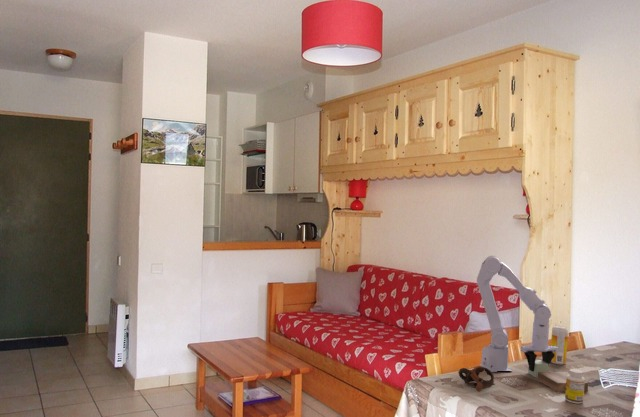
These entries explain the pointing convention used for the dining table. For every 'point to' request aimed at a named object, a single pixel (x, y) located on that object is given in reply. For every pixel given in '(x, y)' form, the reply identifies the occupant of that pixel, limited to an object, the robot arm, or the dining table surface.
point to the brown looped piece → (477, 377)
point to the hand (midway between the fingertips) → (538, 370)
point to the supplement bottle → (575, 386)
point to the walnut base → (556, 380)
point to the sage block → (539, 368)
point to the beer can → (559, 344)
